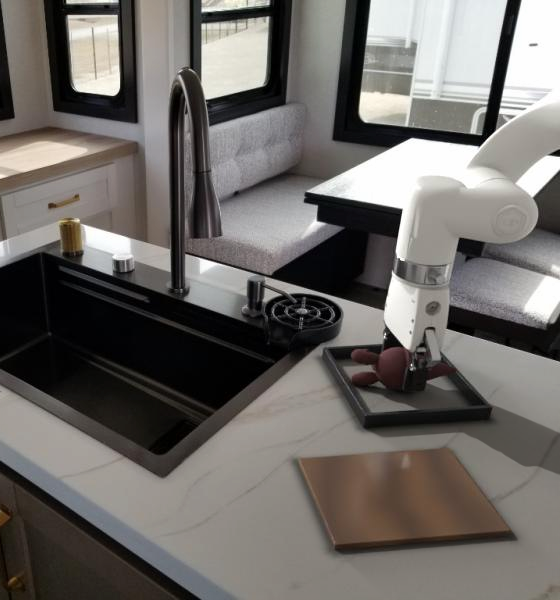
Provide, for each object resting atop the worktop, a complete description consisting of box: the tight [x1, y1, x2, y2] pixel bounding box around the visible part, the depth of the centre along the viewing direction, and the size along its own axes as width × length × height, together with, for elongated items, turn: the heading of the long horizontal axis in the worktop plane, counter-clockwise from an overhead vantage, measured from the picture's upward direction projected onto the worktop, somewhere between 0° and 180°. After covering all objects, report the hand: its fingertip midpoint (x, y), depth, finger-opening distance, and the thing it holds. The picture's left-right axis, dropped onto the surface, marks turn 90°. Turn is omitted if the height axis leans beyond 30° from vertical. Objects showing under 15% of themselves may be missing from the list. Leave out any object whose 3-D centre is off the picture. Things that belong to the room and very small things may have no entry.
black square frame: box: [321, 343, 493, 429], centre depth 96 cm, size 18×18×2 cm
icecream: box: [351, 347, 458, 392], centre depth 95 cm, size 7×7×15 cm
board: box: [297, 447, 511, 551], centre depth 76 cm, size 20×14×1 cm
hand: (401, 374), depth 96 cm, fingers closed on icecream, 7 cm apart
